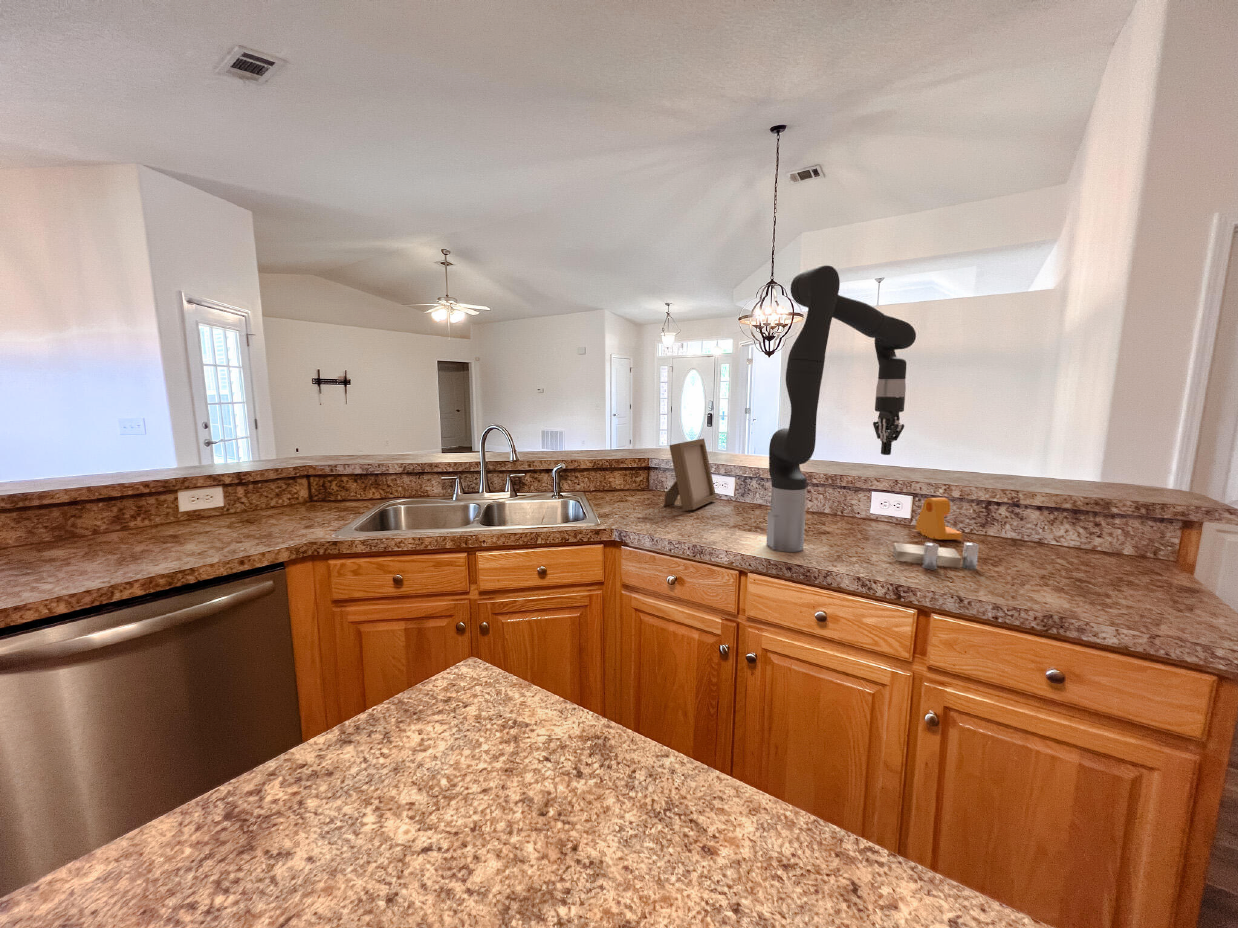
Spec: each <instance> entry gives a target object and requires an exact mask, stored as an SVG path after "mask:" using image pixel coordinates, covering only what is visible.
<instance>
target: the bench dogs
mask: <svg viewBox="0 0 1238 928" xmlns="http://www.w3.org/2000/svg"><path fill="white" fill-rule="evenodd" d="M939 545H940V544H938V543H934V542H924V545H923V546H924V555H923V564H922V566H921V567H922V568H924V569H925V568H926V570H932V571H934V570H935V569H936V570H937V569H938V565H937V559H938V548H939V547H940V546H939ZM979 545H980V544H978V543H974V542H968V541H967V542H964V543H963V551H962V558H961V568H964V569H966V570H972V571H974V570H977V567H978V566H977V565H978V556H979V549H980V547H979Z"/></svg>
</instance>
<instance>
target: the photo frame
mask: <svg viewBox="0 0 1238 928" xmlns="http://www.w3.org/2000/svg"><path fill="white" fill-rule="evenodd" d="M668 446H669V451H670V455H671V461H672V465H673V470H674V475H675V479H676V480H675V481H674V482H673V483H672V485H671V486H670V487H669V488H668V490H667V491H666V492H665V494H664V501H663V504H664V505H663V506H668V505H669V506H670V505H675V503H676V501H677V499H678V498H679V499H680V504H681V509H682V511H683V512H685V511H693V510H696V509H698V508H701V507H703V506H704V505H706V504H709V503H711V502H713V501H715V500H717V494H716V490H715V484H714V481H713V475H712V471H711V465H710V462H709V456H708V450H707V445H706V441H705V438H699V439H694V440H688V441H682V442H679V443H674V444H669V445H668Z"/></svg>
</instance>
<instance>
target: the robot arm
mask: <svg viewBox="0 0 1238 928" xmlns="http://www.w3.org/2000/svg"><path fill="white" fill-rule="evenodd" d="M840 282H841V281H840V275H839V272H838V271H837V269H836V268H835V267H834V266H832V265H828V264H827V265H826V264H825V265H821V266H817V267H813V268H810V269H807V270H805V271H802V272H800V273H798V274H797V275H795V277H793V279H792V281H791V284H790V294H791V295H790V296H791V298H792V299H793V300H794V302H795V303H797V305H799V306H801V307H805V308H807V315H806V318H805V322H804V324H803V326H802V328H801V330H800V332H799V334H798V336H797V337H796V338H795V341H794V342H793V344H792V346H791V348H790V350H789V353H788V357H787V363H786V369H785V386H786V391H787V394H788V395H787V396H788V398H789V402H790V419H789V426H788V428H787V427H785V428H780V429H777V430H776V431H775V432H774V433H773V434H772V436H771V439H770V442H769V448H768V471H769V477H770V479H771V481H770V482H771V487H770V489H771V490H770V491H771V492H770V493H771V494H770V510H769V511H767V521H766V522H767V524H766V525H767V526H766V527H767V528H766V545H767V546H768V547H769V548H770V549H771V550H772V551H779V552H784V553H785V552H787V553H794V552H795V553H797V552H801V551H803V550H804V545H805V544H804V543H805V527H806V526H805V523H806V508H807V506H806V505H807V487H808V481H807V477H806V476H805V474H803V472H802V470H801V467H800V465H803V464H806V463H807V462H808V461H810V460H811V458H812V457H813V455H814V452H815V448H816V439H817V438H816V435H817V419H818V418H817V416H818V407H819V401H820V400H819V399H820V392H821V386H822V379H823V373H824V367H825V361H826V360H825V359H826V352H827V347H828V342H829V341H828V339H829V335H830V330H831V324H832V319H836V320H837V321H840V322H842V323H843V324H845V325H848V326H849V327H851V328H852V329H854V330H856V331H858V332H859V333H861V334H862V335H864V336H866V337H868V338H870V339H874V349H875V352H876V353H875V354H876V359H877V362H878V376H877V383H876V387H875V388H876V389H875V390H876V391H875V403H874V411H875V412H877V413H878V416H877V421H873V422H872V425H873V429H874V432H875V434H876V438H877V440H879V441H880V443H881V444H880V445H881V447H880V454H881V455H883V456H890V455H891V454H892V446H893V445H892V444H893V443H894V442H896V441H898V439H899V438H900V435H901V434H902V432H903V430H904V429H905V424H904V423H900V419H901V418H900V413H904V411H905V401H906V390H907V389H906V387H907V386H906V375H907V360H906V359H904V358H900V357H897V354H896V350H905V349H908V348H910V347H911V346H912V345H913V344H914V343H915V341H916V338H917V333H916V330H915V328H914V327H913V326H912V324H910V323H908V322H907V321H905V320H902V319H900V318H897V317H893V316H889V315H886V314H885V313H883V312H882V311H880V310H878V309H877V308H875V307H874V306H872V305H870V304H868V303H867V302H864V301H860V300H857V299H853V298H849V297H846V296H844V295H840V294H839V292H840V284H841V283H840Z"/></svg>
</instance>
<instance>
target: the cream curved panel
mask: <svg viewBox="0 0 1238 928" xmlns="http://www.w3.org/2000/svg"><path fill="white" fill-rule="evenodd" d="M892 552H893V555H894V558H895V561H896V560H897V562H904V561H908V562H907V563H914V564H915V563H916V564H922V563H923V555H924V545H919V544H910V543H899V542H894V543H893V551H892ZM937 566H938V567H939V566H940V567H948V568H949V567H950V568H957V569H960V568H961V567H962V557H961V555H960V554H959V553H958V552H957V550H956V549H955V548H952V547H951V548H949V547H940V546H939V548H938V559H937Z"/></svg>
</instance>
